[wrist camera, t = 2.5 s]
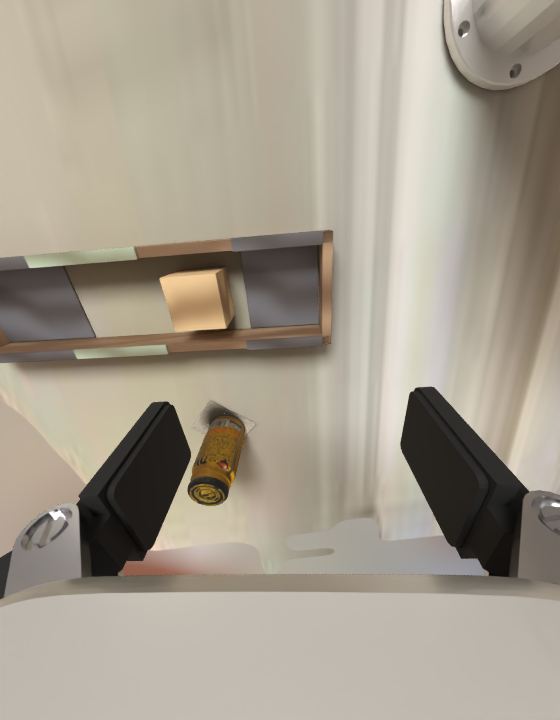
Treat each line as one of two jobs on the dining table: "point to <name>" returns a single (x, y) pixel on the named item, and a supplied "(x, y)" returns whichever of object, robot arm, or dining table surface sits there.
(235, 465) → the condiment
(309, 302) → the box
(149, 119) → the dining table surface
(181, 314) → the block
